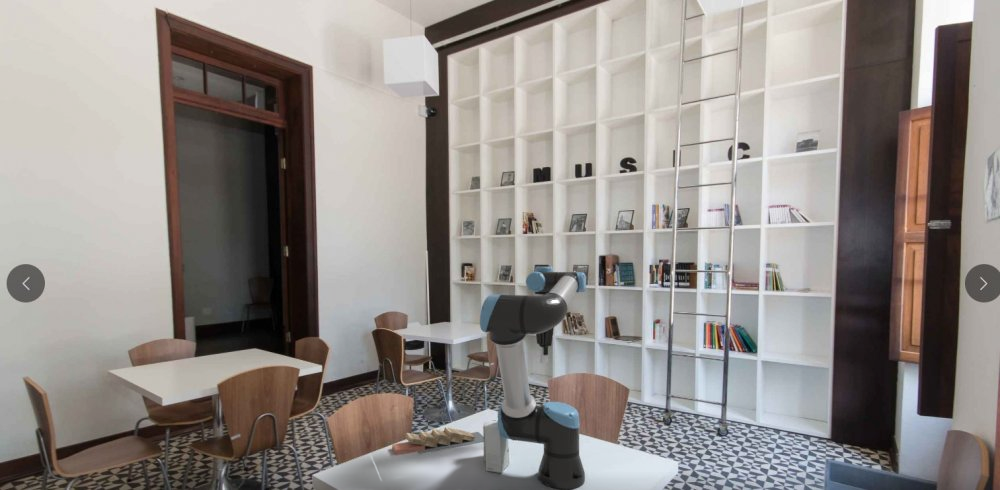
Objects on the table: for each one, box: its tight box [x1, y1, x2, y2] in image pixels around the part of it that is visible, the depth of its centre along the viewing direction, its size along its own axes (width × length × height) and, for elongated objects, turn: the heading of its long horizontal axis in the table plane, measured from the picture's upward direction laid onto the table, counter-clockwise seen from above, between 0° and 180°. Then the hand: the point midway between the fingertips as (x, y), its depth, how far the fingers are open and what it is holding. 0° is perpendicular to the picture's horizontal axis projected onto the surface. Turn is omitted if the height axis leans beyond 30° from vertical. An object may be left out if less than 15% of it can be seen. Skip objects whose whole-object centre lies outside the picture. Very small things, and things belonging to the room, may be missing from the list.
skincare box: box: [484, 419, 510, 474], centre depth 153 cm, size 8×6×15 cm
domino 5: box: [443, 426, 475, 441], centre depth 175 cm, size 2×6×11 cm
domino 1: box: [391, 441, 425, 456], centre depth 166 cm, size 2×6×11 cm
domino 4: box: [431, 428, 463, 443], centre depth 173 cm, size 2×6×11 cm
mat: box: [417, 431, 484, 454], centre depth 174 cm, size 28×11×1 cm, turn 115°
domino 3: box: [418, 430, 451, 445], centre depth 171 cm, size 2×6×11 cm
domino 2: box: [405, 432, 437, 447], centre depth 169 cm, size 2×6×11 cm
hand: (544, 362), depth 179 cm, fingers closed
